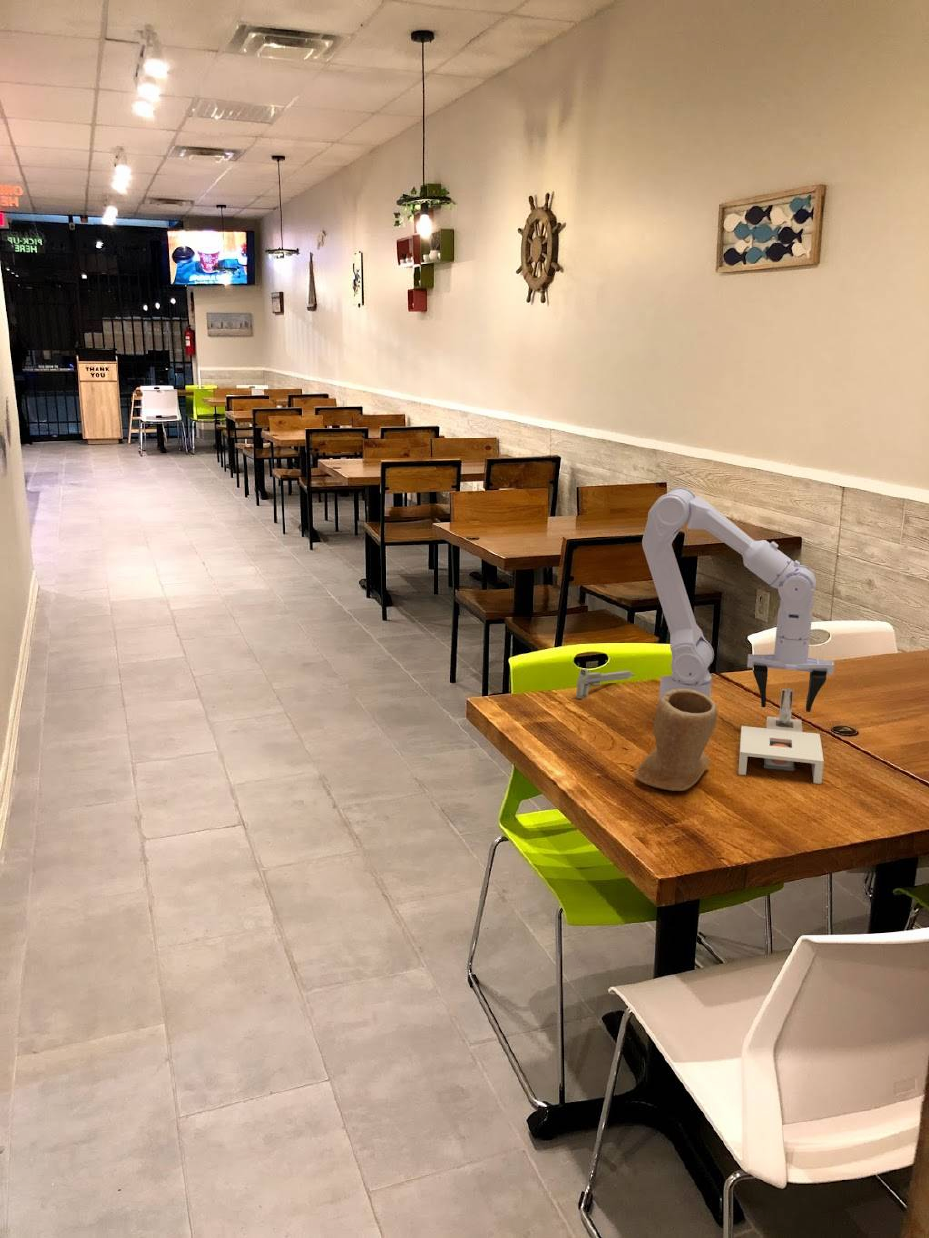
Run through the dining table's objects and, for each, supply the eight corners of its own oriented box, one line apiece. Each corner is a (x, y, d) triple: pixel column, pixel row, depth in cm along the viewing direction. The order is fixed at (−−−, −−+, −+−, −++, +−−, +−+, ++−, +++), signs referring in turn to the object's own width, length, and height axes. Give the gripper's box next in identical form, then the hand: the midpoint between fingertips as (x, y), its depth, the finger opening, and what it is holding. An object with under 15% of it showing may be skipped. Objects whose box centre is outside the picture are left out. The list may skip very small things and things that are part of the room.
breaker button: (764, 767, 162) (765, 750, 161) (764, 756, 166) (765, 739, 166) (794, 771, 161) (795, 753, 160) (793, 760, 165) (794, 742, 164)
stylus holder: (766, 741, 173) (767, 728, 173) (765, 729, 179) (767, 716, 178) (801, 744, 172) (802, 731, 171) (800, 732, 177) (801, 719, 177)
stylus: (777, 738, 175) (781, 691, 172) (777, 734, 176) (781, 687, 174) (789, 739, 174) (793, 692, 172) (788, 735, 176) (793, 689, 174)
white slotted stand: (738, 774, 160) (740, 751, 159) (739, 746, 171) (741, 725, 170) (821, 783, 156) (823, 761, 155) (817, 755, 167) (819, 733, 166)
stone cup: (698, 803, 150) (704, 713, 145) (626, 786, 156) (630, 699, 152) (727, 769, 162) (734, 685, 158) (660, 754, 168) (664, 672, 164)
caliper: (580, 701, 194) (581, 671, 192) (576, 700, 195) (577, 670, 193) (634, 676, 209) (635, 648, 207) (629, 675, 210) (630, 647, 208)
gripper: (749, 638, 168) (743, 711, 172) (838, 645, 164) (829, 719, 168) (750, 627, 175) (744, 697, 179) (835, 634, 171) (827, 706, 175)
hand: (785, 707), depth 174 cm, fingers open, 7 cm apart
